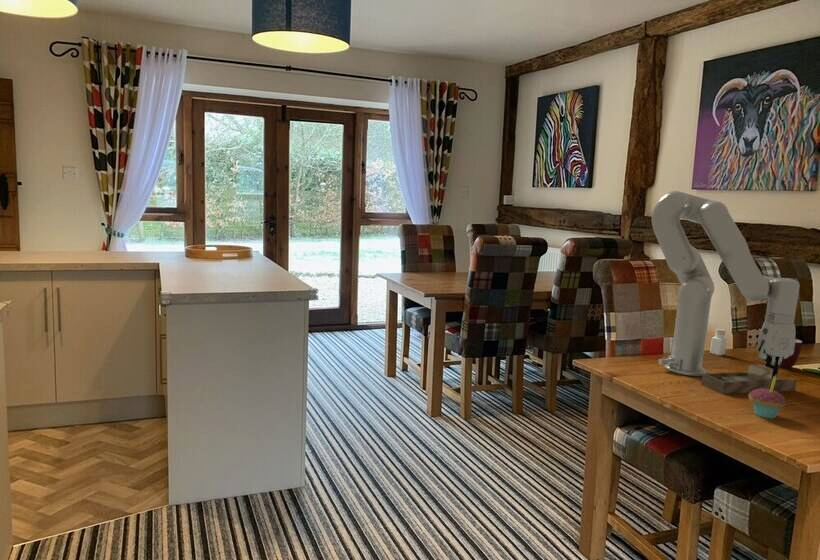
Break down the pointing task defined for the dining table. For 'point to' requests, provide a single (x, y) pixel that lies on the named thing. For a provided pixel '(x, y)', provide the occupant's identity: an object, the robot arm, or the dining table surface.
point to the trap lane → (743, 383)
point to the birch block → (759, 372)
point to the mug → (792, 356)
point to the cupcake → (767, 401)
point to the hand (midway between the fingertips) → (770, 376)
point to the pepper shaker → (718, 343)
